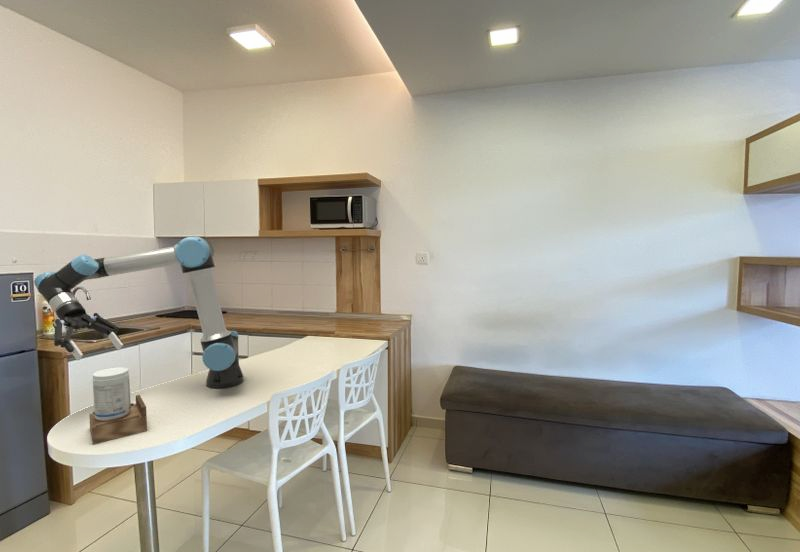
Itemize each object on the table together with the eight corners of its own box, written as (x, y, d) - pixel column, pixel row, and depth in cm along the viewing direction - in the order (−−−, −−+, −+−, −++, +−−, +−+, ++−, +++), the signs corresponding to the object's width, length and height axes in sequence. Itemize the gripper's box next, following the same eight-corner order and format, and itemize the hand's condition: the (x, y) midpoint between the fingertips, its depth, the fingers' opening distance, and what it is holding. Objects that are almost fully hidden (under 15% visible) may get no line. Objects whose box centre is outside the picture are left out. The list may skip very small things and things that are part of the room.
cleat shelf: (140, 416, 139) (139, 394, 138) (147, 430, 128) (146, 406, 128) (90, 428, 130) (88, 404, 129) (92, 444, 119) (91, 418, 119)
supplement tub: (107, 410, 132) (104, 367, 131) (137, 409, 133) (135, 366, 132) (87, 422, 123) (84, 376, 122) (120, 421, 124) (117, 375, 123)
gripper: (99, 309, 153) (130, 350, 150) (21, 321, 130) (55, 370, 126) (108, 296, 151) (140, 337, 148) (30, 306, 128) (65, 354, 124)
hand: (101, 352), depth 137 cm, fingers open, 13 cm apart
